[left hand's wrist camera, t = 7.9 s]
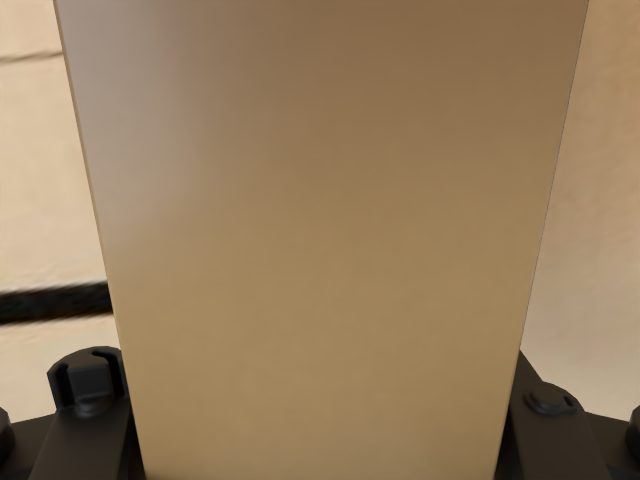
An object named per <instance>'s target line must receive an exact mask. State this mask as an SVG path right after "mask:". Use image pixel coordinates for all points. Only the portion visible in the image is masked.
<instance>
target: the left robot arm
mask: <svg viewBox="0 0 640 480" xmlns="http://www.w3.org/2000/svg"><path fill="white" fill-rule="evenodd" d="M47 376H48V380H49V384H50V387H51V391H52V394H53V398H54V402H55V405H56V409H57V410H56V412H55V413H54V414H50V415H47V416H43V417H39V418H34V419H30V420H25V421H21V422H16V423H12V424H11V422H10V419H9V416H8V413H7V412H6V411H5V410H4V409H2V408H1V407H0V480H146V476H145V470H144V465H143V460H142V455H141V450H140V445H139V440H138V434H137V429H136V424H135V419H134V414H133V409H132V404H131V399H130V393H129V388H128V383H127V378H126V373H125V368H124V363H123V358H122V352H121V350H119V349H118V348H114V347H109V346H97V347H90V348H86V349H82V350H78V351H76V352H74V353H72V354H69V355H67V356H65V357H63V358H62V359H61V360H59V361H58V362H56V363H55V364H53V366H52V367H51V368H50V369H49V371H48V372H47ZM494 480H640V405H639V406H638V407H637V408H635V409H634V410H633V412H632V415H631V418H630V421H629V422H627V421H623V420H618V419H614V418H609V417H605V416H600V415H596V414H592V413H589V412H585V411H584V409H583V407H582V406H581V404H580V403H579V402H578V400H577V399H576V398H575V397H574V396H572V395H571V394H570V393H568V392H567V391H566V390H564V389H562V388H560V387H558V386H556V385H554V384H551V383H547V382H544V381H542V379H541V378H540V377H539V375H538V374H537V373H536V371H535V370H534V368H533V367H532V366H531V364H530V363H529V361H528V360H527V359H526V357H525V356H524V355H523V353H522V352H521V350H520V349H519V354H518V359H517V365H516V370H515V375H514V380H513V385H512V390H511V395H510V400H509V405H508V410H507V415H506V420H505V425H504V430H503V435H502V440H501V445H500V450H499V455H498V460H497V465H496V470H495V475H494Z"/></svg>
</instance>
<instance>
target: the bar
mask: <svg viewBox="0 0 640 480" xmlns="http://www.w3.org/2000/svg"><path fill="white" fill-rule="evenodd" d="M588 2H589V0H53V4H54V9H55V14H56V19H57V24H58V29H59V34H60V40H61V45H62V50H63V55H64V60H65V65H66V70H67V75H68V81H69V86H70V91H71V96H72V101H73V106H74V111H75V116H76V122H77V127H78V132H79V137H80V142H81V147H82V152H83V157H84V163H85V168H86V173H87V178H88V183H89V188H90V193H91V199H92V204H93V209H94V214H95V219H96V224H97V229H98V234H99V240H100V245H101V250H102V255H103V260H104V265H105V270H106V275H107V281H108V286H109V291H110V296H111V301H112V306H113V311H114V317H115V322H116V327H117V332H118V337H119V342H120V347H121V352H122V358H123V363H124V368H125V373H126V378H127V383H128V388H129V393H130V399H131V404H132V409H133V414H134V419H135V424H136V429H137V434H138V440H139V445H140V450H141V455H142V460H143V465H144V470H145V476H146V480H494V475H495V470H496V465H497V460H498V455H499V450H500V445H501V440H502V435H503V430H504V425H505V420H506V415H507V410H508V405H509V400H510V395H511V390H512V385H513V380H514V375H515V370H516V365H517V359H518V354H519V349H520V344H521V339H522V334H523V329H524V324H525V319H526V314H527V309H528V304H529V299H530V294H531V289H532V284H533V279H534V274H535V269H536V264H537V259H538V254H539V249H540V244H541V239H542V234H543V229H544V224H545V219H546V213H547V208H548V203H549V198H550V193H551V188H552V183H553V178H554V173H555V168H556V163H557V158H558V153H559V148H560V143H561V138H562V133H563V128H564V123H565V118H566V113H567V108H568V103H569V98H570V93H571V88H572V83H573V78H574V73H575V67H576V62H577V57H578V52H579V47H580V42H581V37H582V32H583V27H584V22H585V17H586V12H587V7H588Z"/></svg>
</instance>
